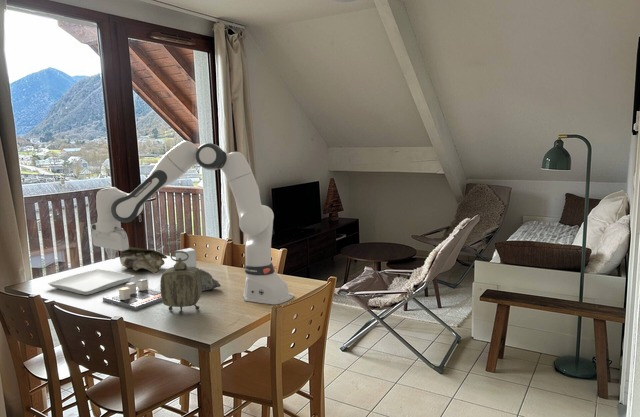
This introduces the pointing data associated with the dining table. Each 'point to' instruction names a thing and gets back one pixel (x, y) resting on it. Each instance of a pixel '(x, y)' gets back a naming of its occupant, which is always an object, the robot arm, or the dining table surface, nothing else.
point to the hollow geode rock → (142, 259)
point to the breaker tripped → (124, 293)
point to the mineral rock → (208, 281)
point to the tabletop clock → (181, 285)
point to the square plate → (91, 281)
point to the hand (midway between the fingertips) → (111, 258)
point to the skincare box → (192, 256)
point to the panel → (136, 299)
